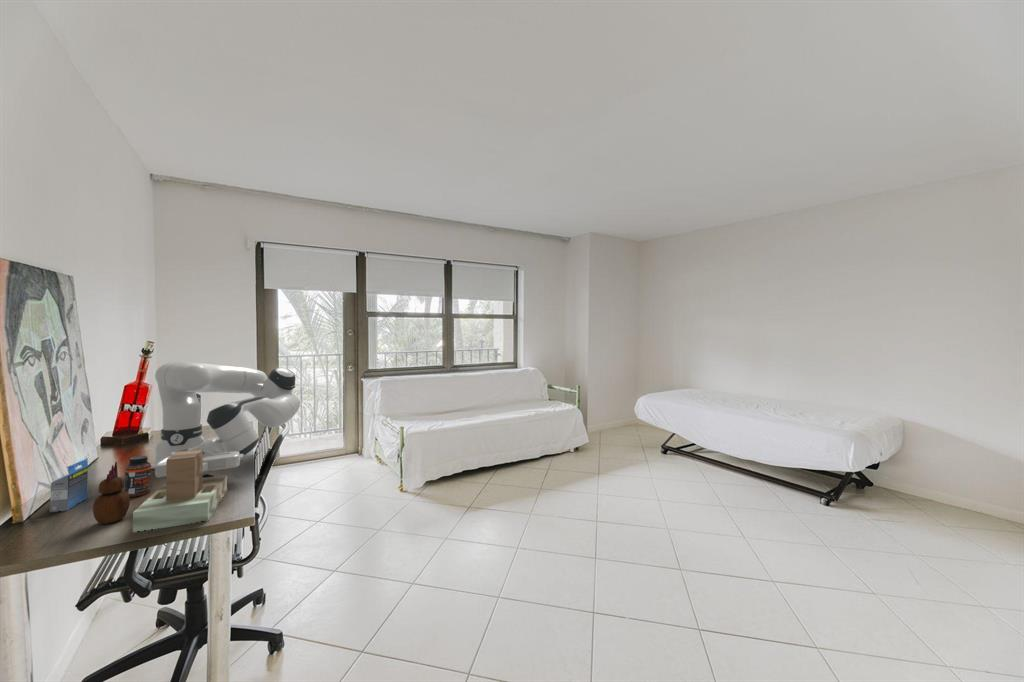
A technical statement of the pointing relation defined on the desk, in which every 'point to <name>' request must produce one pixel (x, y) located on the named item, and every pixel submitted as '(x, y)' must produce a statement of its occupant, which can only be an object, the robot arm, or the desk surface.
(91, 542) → the desk surface
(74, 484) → the label tape box
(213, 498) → the trap runway
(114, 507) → the wooden figurine
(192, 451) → the walnut block
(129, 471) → the supplement bottle
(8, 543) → the desk surface
